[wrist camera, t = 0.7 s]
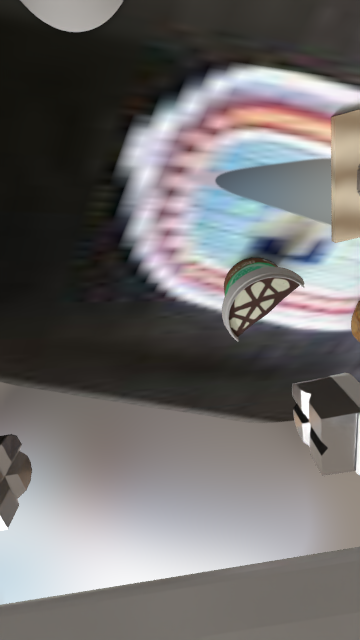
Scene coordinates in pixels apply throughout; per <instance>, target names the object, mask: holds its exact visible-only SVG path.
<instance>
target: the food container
mask: <svg viewBox="0 0 360 640" xmlns="http://www.w3.org/2000/svg"><path fill="white" fill-rule="evenodd" d="M299 284H300V285H301V286H302V287H304V286H303V285H304V281H303V279H302V278H301V277H300V276H299V275H298V274H296V273H294V272H293V271H291V270H288V269H285V268H280V267H278V266H277V265H275V264H274V263H272V262H271V261H268V260H266V259H263V258H249V259H245V260H242V261H241V262H239V263H237V264H236V265H234V266H233V267H232V268H231V270H230V271H229V272H228V274H227V276H226V278H225V282H224V292H225V298H224V302H223V306H222V317H223V321H224V324H225V326H226V328H227V330H228V331H229V332H230V334H231V335H232V337H233V338H234V339H235V340H237V341H238V342H239V339H238V336H240V335H241V334H242V333H243V332H244V331H245V330H246V329H248V328H249V327H250V326H251V325H253V324H254V323H255V322H257V321H258V320H260V319H261V318H262V317H264V316H265V315H267V314H268V313H269V312H270V311H271V310H272V309H273V308H274V307H275V306H276V305H277V304H278V303H279V302H281V301H282V300H283V299H284V298H285V297H286V296H287V295H289V294H290V293H291V292H292V291H293V290H295V289H296V288H297V287H298V286H300V285H299Z"/></svg>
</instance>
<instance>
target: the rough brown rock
mask: <svg viewBox="0 0 360 640" xmlns="http://www.w3.org/2000/svg"><path fill="white" fill-rule="evenodd" d="M351 329H352V334H353V335H354V337H355V338H356V339H357V340H358V341H359V342H360V301H359V302H358V304H357V306H356V308H355V311H354V313H353V316H352V321H351Z"/></svg>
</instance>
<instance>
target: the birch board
mask: <svg viewBox="0 0 360 640" xmlns="http://www.w3.org/2000/svg"><path fill="white" fill-rule="evenodd" d="M359 164H360V109H358V110H355V111H351V112H348V113H344V114H341V115H337V116H334V117H331V178H332V179H331V184H332V185H331V186H332V188H331V189H332V190H331V192H332V241H333V242H335V243H337V242H341V241H346V240H350V239H354V238H358V237H360V196H359V194H358V192H357V191H359V190H357V170H359V169H360V168H358V166H359Z"/></svg>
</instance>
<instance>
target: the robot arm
mask: <svg viewBox="0 0 360 640" xmlns="http://www.w3.org/2000/svg"><path fill="white" fill-rule="evenodd" d="M20 1H21V2H22V3H23V4H24V5H25V6H26V7H27V8H28V9H29V10H30V11H31V12H32V13H33V14H34V15H36V16H37V17H38V18H39V19H41V20H42V21H44V22H45V23H47V24H49V25H51V26H53V27H55V28H57V29H60V30H64V31H69V32H83V31H88V30H91V29H94V28H96V27H98V26H100V25H102V24H103V23H105V22H106V21H107V20H108V19H109V18H111V17H112V16H113V14H114V13H115V12H116V11H117V10H118V8H119V7H120V5H121V4H122V2H123V0H20ZM292 396H293V398H294V399H295V401H296V402H297V404H296V405H295V407H294V408H293V412H294V420H295V424H296V428H297V430H298V433H299V435H300V437H301V439H302V441H303V442H304V443H306V444H307V445H309V446H310V455H311V457H312V459H313V460H314V462H315V464H316V466H317V467H318V469H319V471H320V473H321V474H322V475H330V474H337V473H343V472H351V471H356V473H358V474H359V475H360V383H359V382H358V381H357V380H356V379H355V378H354V377H353V376H351V375H350V374H348V373H343V374H338V375H333V376H329V377H327V378H321V379H316V380H310V381H305V382H300V383H294V384H293V386H292ZM21 445H22V444H21V442H20V441H19V439H18V437H17V436H16V435H12V434H11V435H4V436H0V530H5V529H8V527H9V525H10V523H11V521H12V519H13V517H14V515H15V513H16V511H17V509H18V506H19V503H18V499H17V498H19V497H20V496H21V495H22V494H23V493H24V492H25V491H26V490H27V487H28V485H29V483H30V481H31V473H32V468H31V462H30V460H29V458H28V456H27V455H25V454H24V453H22V452H20V448H21ZM0 640H360V547H355V548H349V549H343V550H337V551H331V552H324V553H318V554H313V555H306V556H300V557H294V558H287V559H282V560H275V561H269V562H263V563H257V564H251V565H245V566H239V567H233V568H226V569H221V570H214V571H208V572H202V573H196V574H190V575H184V576H178V577H171V578H165V579H159V580H153V581H146V582H140V583H134V584H128V585H122V586H115V587H109V588H103V589H96V590H91V591H84V592H78V593H72V594H65V595H60V596H53V597H47V598H41V599H35V600H28V601H22V602H16V603H9V604H3V605H0Z"/></svg>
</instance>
